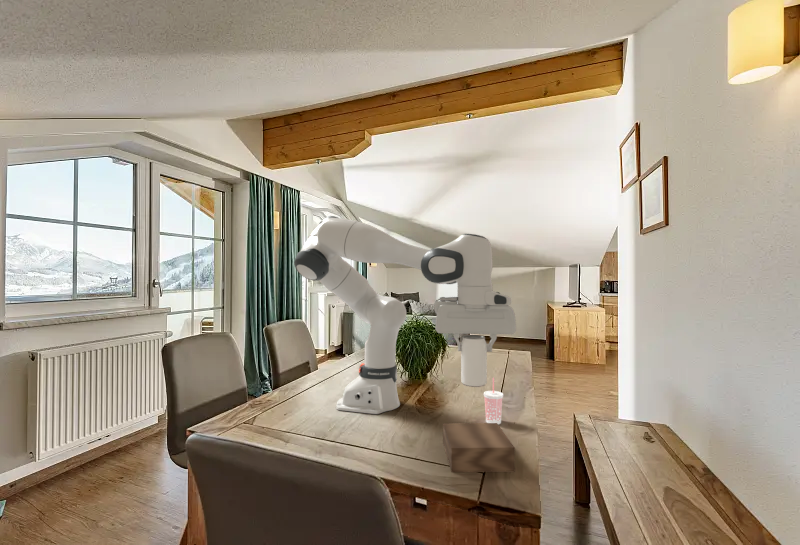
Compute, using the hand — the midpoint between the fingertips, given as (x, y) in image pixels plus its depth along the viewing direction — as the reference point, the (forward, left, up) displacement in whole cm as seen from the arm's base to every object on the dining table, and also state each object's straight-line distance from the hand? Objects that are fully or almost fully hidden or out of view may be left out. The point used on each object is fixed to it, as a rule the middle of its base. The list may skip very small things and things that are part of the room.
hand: (474, 351), depth 98 cm
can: (0, 0, -8) cm, 9 cm away
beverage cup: (+8, +24, -27) cm, 37 cm away
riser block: (0, 0, -27) cm, 27 cm away
